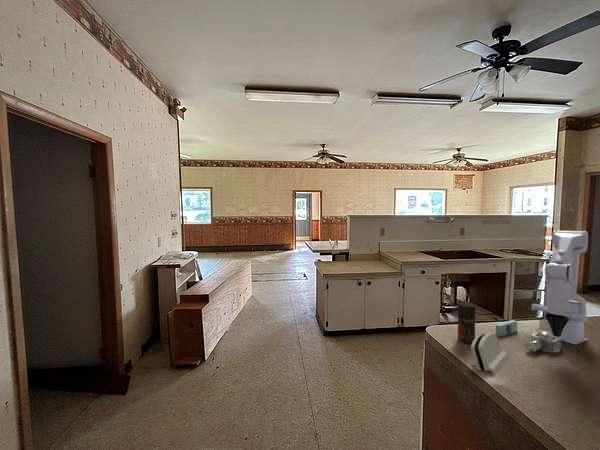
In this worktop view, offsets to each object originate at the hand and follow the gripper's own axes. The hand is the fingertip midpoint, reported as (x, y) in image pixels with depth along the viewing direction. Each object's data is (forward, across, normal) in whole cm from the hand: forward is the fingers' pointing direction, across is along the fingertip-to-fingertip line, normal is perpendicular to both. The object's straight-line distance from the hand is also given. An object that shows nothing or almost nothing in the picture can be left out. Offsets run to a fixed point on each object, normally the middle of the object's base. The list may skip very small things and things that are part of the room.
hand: (557, 335), depth 95 cm
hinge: (+9, -8, -23) cm, 26 cm away
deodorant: (+8, -22, -16) cm, 28 cm away
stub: (+8, -6, +6) cm, 12 cm away
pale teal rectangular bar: (+8, -20, +6) cm, 22 cm away
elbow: (+8, -6, +3) cm, 10 cm away
